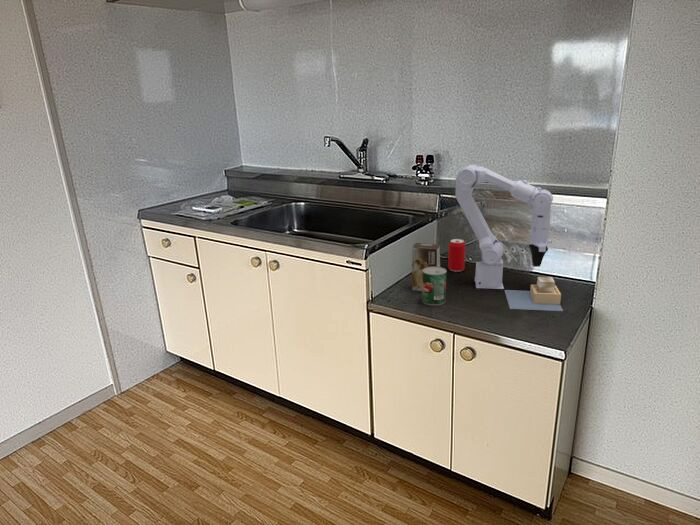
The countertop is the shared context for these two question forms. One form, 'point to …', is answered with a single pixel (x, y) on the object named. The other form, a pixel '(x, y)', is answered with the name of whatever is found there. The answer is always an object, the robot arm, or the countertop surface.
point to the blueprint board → (527, 301)
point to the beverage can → (456, 255)
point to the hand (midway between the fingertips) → (536, 265)
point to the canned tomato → (434, 286)
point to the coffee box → (423, 261)
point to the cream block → (545, 285)
